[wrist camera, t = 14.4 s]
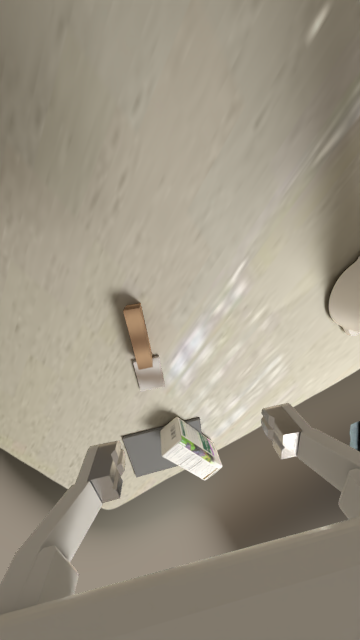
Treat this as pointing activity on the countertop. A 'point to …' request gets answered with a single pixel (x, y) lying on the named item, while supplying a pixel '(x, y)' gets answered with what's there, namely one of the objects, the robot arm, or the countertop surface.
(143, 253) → the countertop surface
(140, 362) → the tan wooden bar
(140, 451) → the mat
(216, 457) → the syrup box
